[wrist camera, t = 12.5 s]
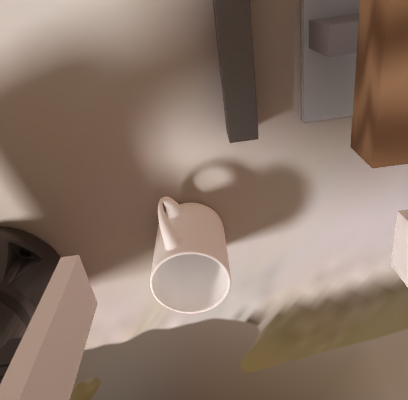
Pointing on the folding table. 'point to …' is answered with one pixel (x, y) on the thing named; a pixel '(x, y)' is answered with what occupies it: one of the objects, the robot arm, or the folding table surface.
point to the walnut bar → (381, 84)
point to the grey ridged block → (328, 58)
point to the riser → (237, 68)
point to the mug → (189, 258)
